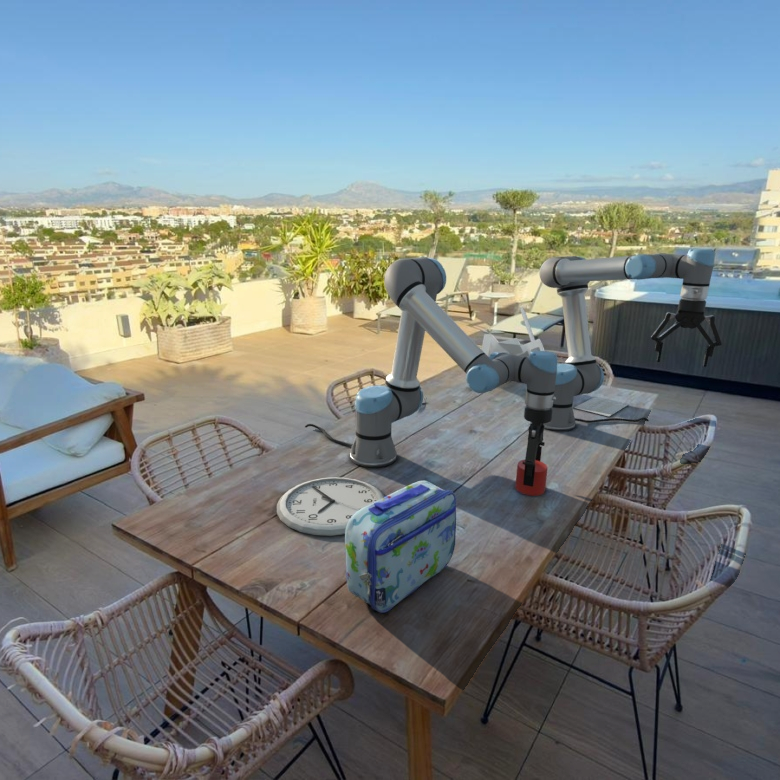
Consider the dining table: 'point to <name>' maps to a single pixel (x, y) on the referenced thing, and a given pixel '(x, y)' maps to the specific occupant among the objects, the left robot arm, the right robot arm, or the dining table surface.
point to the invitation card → (601, 406)
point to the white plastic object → (512, 343)
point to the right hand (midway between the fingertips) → (680, 363)
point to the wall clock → (325, 504)
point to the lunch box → (399, 543)
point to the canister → (538, 479)
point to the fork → (424, 399)
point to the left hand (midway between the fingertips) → (531, 475)
